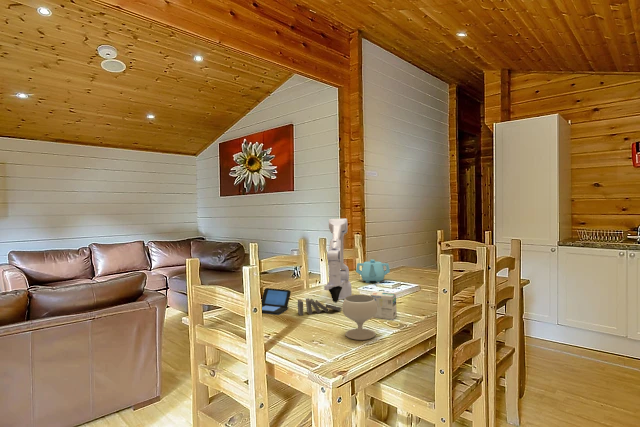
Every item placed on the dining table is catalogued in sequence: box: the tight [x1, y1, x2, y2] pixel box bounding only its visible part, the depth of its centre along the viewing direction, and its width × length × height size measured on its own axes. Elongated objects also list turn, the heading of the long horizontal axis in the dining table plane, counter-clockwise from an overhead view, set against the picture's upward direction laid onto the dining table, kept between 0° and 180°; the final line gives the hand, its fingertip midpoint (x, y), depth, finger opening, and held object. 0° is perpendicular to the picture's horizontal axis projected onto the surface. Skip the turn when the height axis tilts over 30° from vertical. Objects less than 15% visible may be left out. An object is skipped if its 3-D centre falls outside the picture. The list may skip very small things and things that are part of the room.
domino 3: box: [309, 298, 322, 314], centre depth 182 cm, size 2×4×6 cm
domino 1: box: [297, 299, 304, 317], centre depth 180 cm, size 2×4×6 cm, turn 16°
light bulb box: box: [370, 290, 397, 320], centre depth 174 cm, size 11×7×11 cm, turn 65°
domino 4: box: [314, 300, 329, 313], centre depth 183 cm, size 2×4×6 cm
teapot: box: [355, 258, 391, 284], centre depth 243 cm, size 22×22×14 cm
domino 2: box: [305, 298, 313, 315], centre depth 181 cm, size 2×4×6 cm, turn 16°
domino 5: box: [325, 303, 342, 312], centre depth 183 cm, size 2×4×6 cm
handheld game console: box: [261, 287, 291, 315], centre depth 189 cm, size 16×13×9 cm
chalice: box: [341, 294, 377, 341], centre depth 151 cm, size 14×14×15 cm
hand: (335, 301), depth 185 cm, fingers closed
